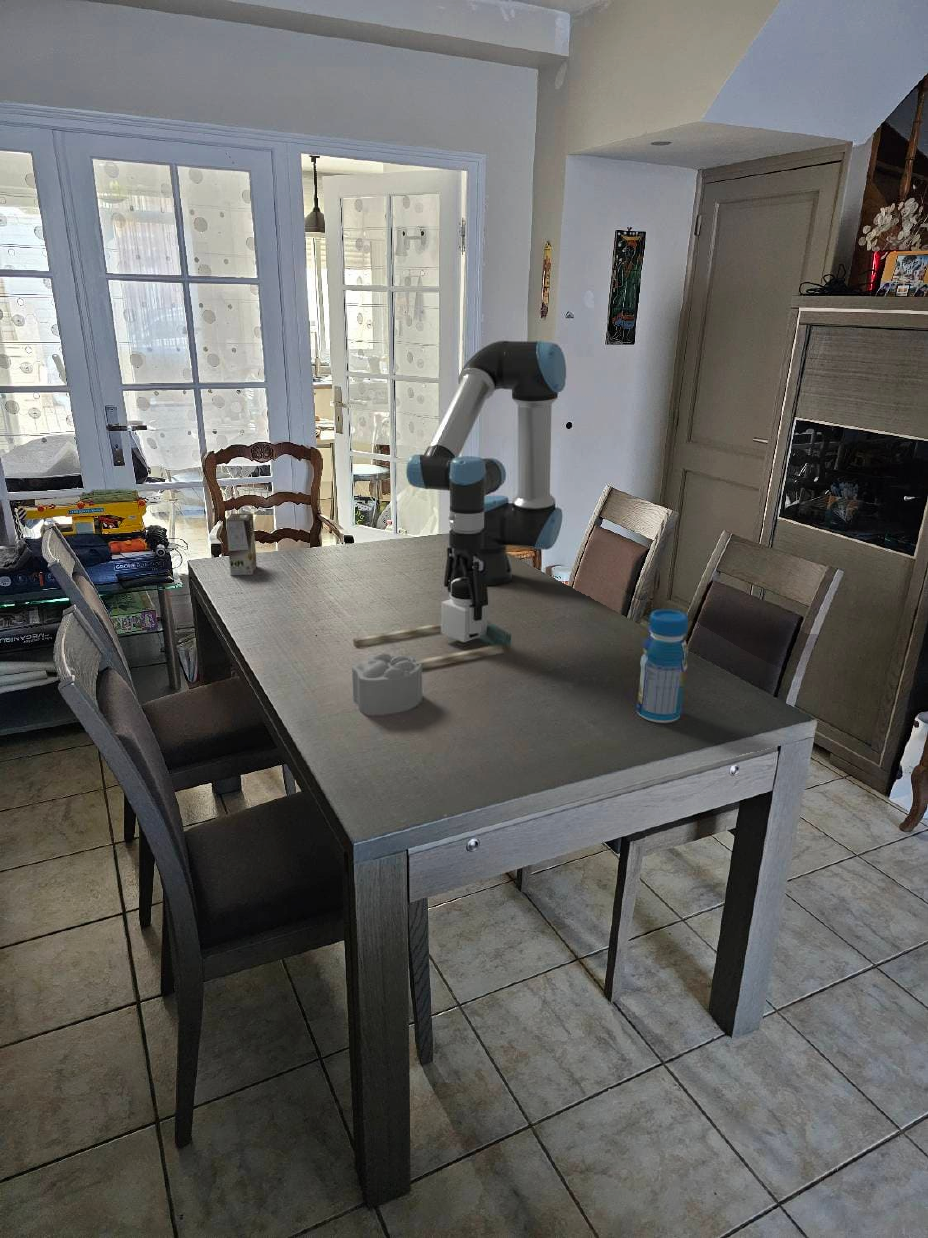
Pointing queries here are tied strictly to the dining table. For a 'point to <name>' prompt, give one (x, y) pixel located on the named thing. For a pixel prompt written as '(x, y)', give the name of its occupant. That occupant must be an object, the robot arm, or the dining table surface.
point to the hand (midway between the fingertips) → (464, 625)
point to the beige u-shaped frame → (494, 637)
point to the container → (460, 613)
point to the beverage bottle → (663, 667)
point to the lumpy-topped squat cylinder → (387, 684)
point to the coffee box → (241, 544)
